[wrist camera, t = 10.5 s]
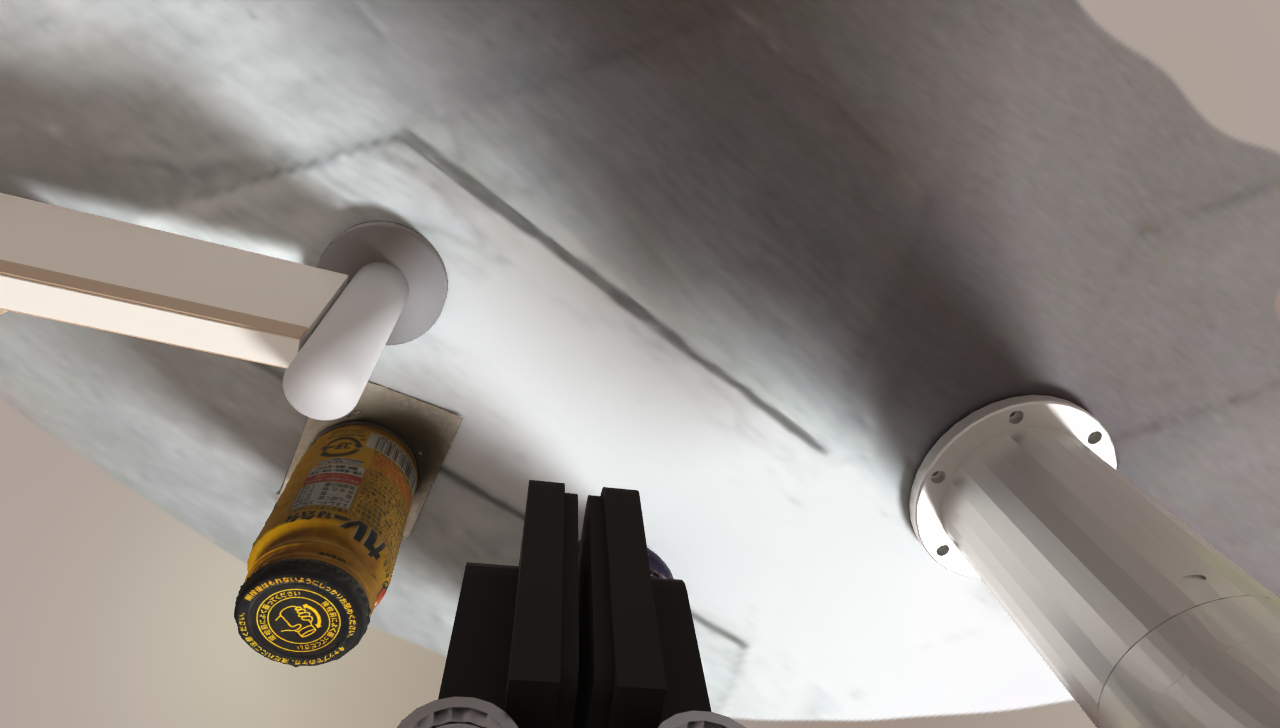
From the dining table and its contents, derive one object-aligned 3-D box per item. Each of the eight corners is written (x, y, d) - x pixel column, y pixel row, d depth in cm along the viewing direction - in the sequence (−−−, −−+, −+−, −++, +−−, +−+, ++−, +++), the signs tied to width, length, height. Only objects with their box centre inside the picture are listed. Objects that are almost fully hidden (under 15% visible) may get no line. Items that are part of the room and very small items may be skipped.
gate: (413, 269, 37) (365, 362, 27) (403, 319, 38) (354, 426, 28) (-144, 134, 32) (-454, 187, 22) (-139, 195, 33) (-435, 272, 23)
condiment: (279, 495, 42) (188, 660, 31) (328, 365, 40) (247, 496, 29) (409, 535, 44) (365, 703, 34) (463, 414, 42) (436, 554, 31)
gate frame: (580, -285, 30) (602, -457, 19) (432, 355, 40) (391, 481, 29) (58, -512, 26) (-292, -893, 15) (38, 262, 36) (-182, 368, 25)
